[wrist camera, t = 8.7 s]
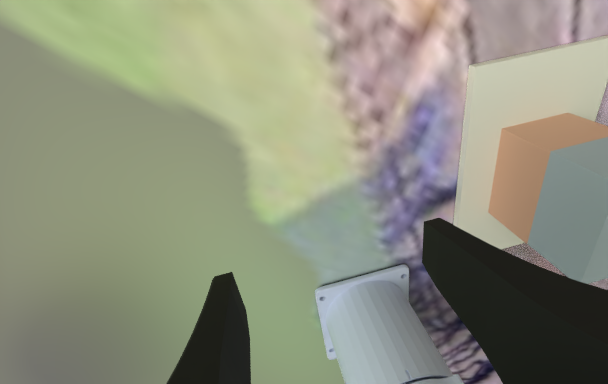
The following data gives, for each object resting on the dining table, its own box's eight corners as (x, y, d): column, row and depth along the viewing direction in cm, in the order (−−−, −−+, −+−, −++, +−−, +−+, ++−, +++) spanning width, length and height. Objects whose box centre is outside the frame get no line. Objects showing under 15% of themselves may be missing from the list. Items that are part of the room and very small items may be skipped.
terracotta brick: (545, 197, 27) (591, 226, 24) (488, 212, 27) (526, 244, 23) (568, 112, 23) (626, 132, 20) (501, 128, 23) (550, 151, 20)
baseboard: (554, 229, 30) (559, 233, 30) (449, 257, 29) (453, 262, 29) (612, 33, 22) (622, 34, 21) (469, 65, 21) (475, 66, 20)
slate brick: (592, 225, 24) (653, 264, 20) (527, 243, 23) (579, 286, 20) (626, 132, 20) (709, 160, 17) (550, 151, 20) (619, 184, 16)
